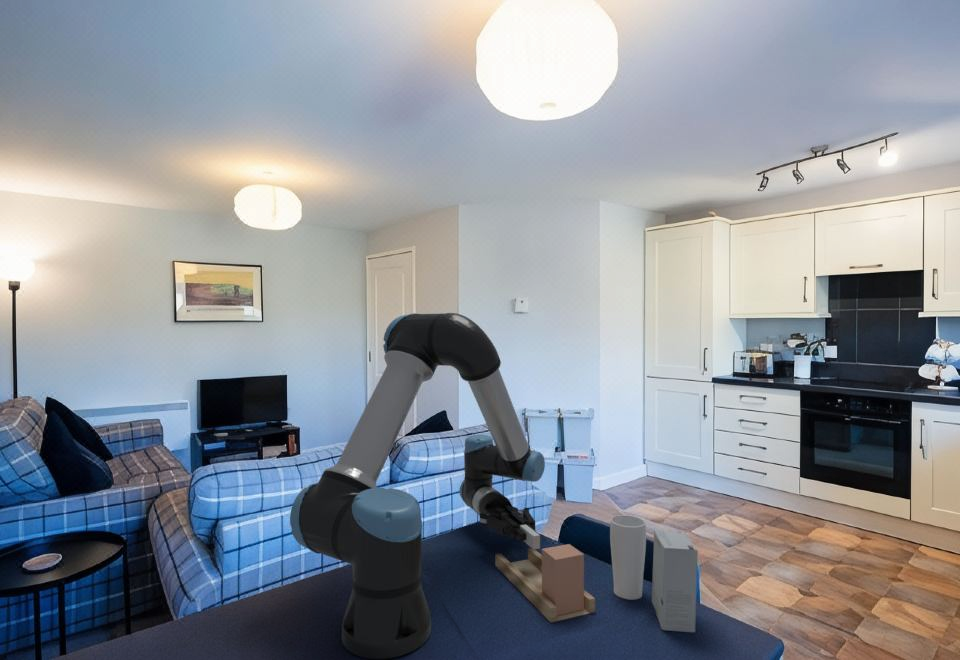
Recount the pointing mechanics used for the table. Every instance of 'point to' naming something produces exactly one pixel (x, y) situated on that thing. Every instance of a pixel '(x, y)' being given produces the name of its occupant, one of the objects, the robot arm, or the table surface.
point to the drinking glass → (628, 555)
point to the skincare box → (674, 580)
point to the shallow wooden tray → (537, 585)
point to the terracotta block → (563, 578)
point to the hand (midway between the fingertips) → (536, 542)
